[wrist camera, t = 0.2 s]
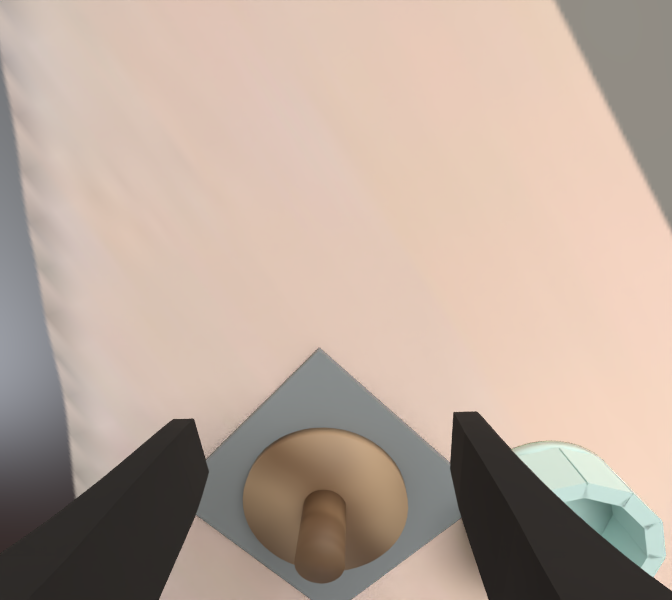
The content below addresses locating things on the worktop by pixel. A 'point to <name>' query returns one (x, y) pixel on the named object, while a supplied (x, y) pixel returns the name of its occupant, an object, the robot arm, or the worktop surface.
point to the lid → (325, 501)
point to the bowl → (599, 499)
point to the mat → (341, 413)
